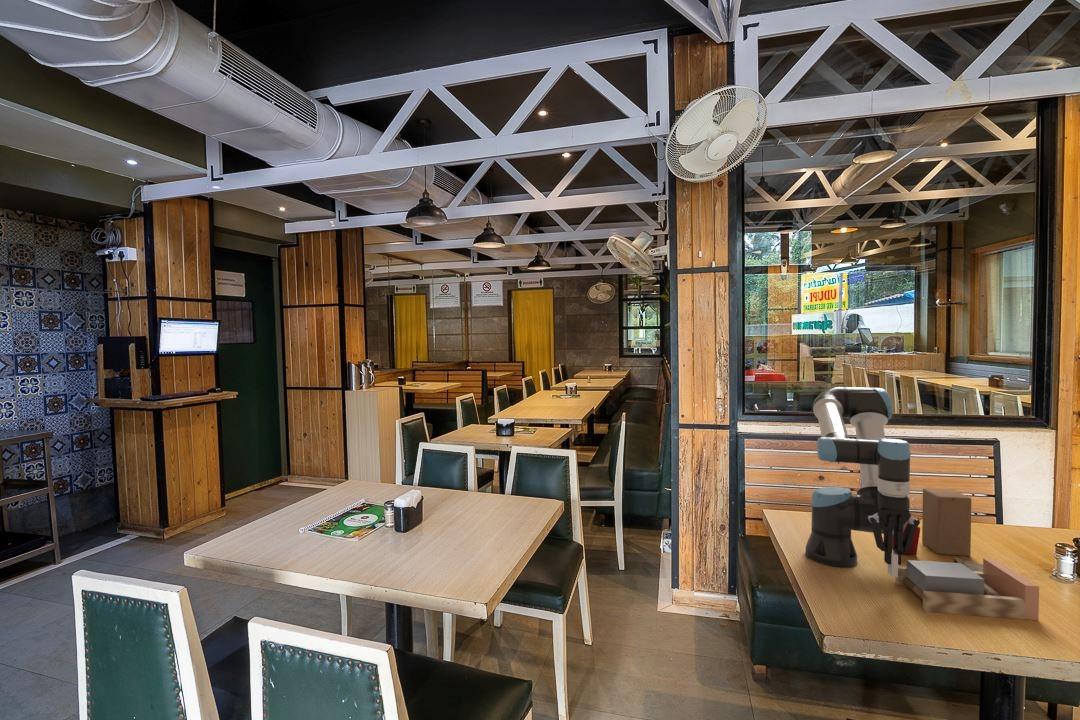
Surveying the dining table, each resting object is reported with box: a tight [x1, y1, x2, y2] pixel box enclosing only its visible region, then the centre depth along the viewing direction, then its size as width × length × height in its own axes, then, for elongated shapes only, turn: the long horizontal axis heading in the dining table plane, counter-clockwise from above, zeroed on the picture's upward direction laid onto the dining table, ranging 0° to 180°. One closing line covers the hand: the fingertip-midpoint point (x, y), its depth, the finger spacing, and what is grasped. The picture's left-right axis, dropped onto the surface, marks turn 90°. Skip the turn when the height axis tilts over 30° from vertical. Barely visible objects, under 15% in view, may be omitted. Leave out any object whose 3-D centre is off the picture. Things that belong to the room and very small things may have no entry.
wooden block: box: [921, 488, 972, 557], centre depth 174 cm, size 10×10×20 cm
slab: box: [906, 559, 984, 595], centre depth 142 cm, size 14×10×5 cm
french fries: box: [892, 515, 922, 557], centre depth 174 cm, size 9×8×15 cm
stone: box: [952, 557, 983, 572], centre depth 155 cm, size 15×8×3 cm, turn 42°
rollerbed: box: [894, 565, 1026, 620], centre depth 142 cm, size 23×16×5 cm
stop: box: [982, 558, 1040, 621], centre depth 139 cm, size 3×16×9 cm, turn 169°
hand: (892, 574), depth 145 cm, fingers closed
